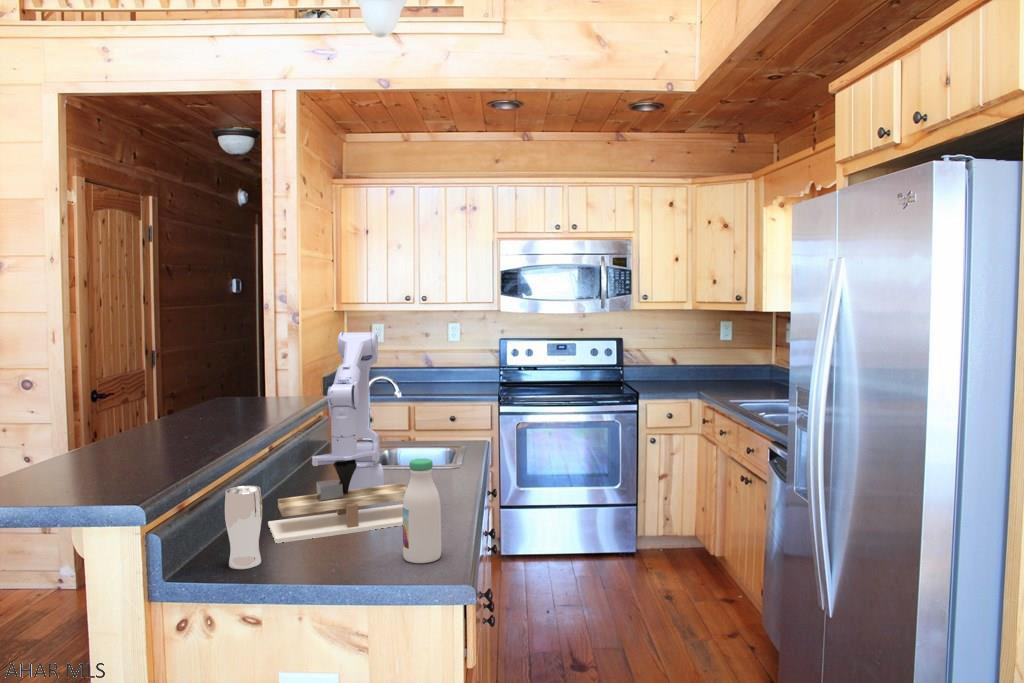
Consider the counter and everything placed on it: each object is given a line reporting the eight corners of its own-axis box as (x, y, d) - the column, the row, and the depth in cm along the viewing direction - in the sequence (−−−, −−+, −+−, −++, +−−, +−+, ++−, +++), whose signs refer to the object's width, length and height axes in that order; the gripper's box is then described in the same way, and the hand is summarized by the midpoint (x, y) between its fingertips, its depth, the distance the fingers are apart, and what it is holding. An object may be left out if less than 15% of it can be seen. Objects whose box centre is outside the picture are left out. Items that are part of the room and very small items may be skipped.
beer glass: (232, 558, 148) (230, 485, 147) (267, 557, 149) (265, 484, 148) (221, 571, 141) (219, 494, 140) (258, 569, 142) (256, 493, 141)
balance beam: (403, 493, 180) (403, 482, 180) (414, 502, 172) (414, 490, 172) (278, 510, 168) (277, 498, 168) (283, 520, 160) (282, 508, 160)
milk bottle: (447, 553, 150) (446, 457, 149) (431, 566, 143) (430, 465, 142) (413, 549, 153) (412, 455, 152) (396, 562, 145) (394, 463, 144)
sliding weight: (338, 495, 172) (338, 479, 171) (343, 501, 167) (342, 484, 167) (317, 498, 170) (316, 482, 169) (321, 504, 165) (320, 487, 165)
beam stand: (409, 507, 184) (408, 483, 183) (426, 522, 171) (426, 497, 171) (268, 525, 170) (267, 500, 169) (275, 543, 157) (274, 516, 156)
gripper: (315, 441, 162) (316, 501, 163) (379, 435, 168) (380, 493, 169) (309, 435, 169) (311, 493, 169) (371, 430, 175) (372, 486, 175)
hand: (345, 493), depth 170 cm, fingers closed
